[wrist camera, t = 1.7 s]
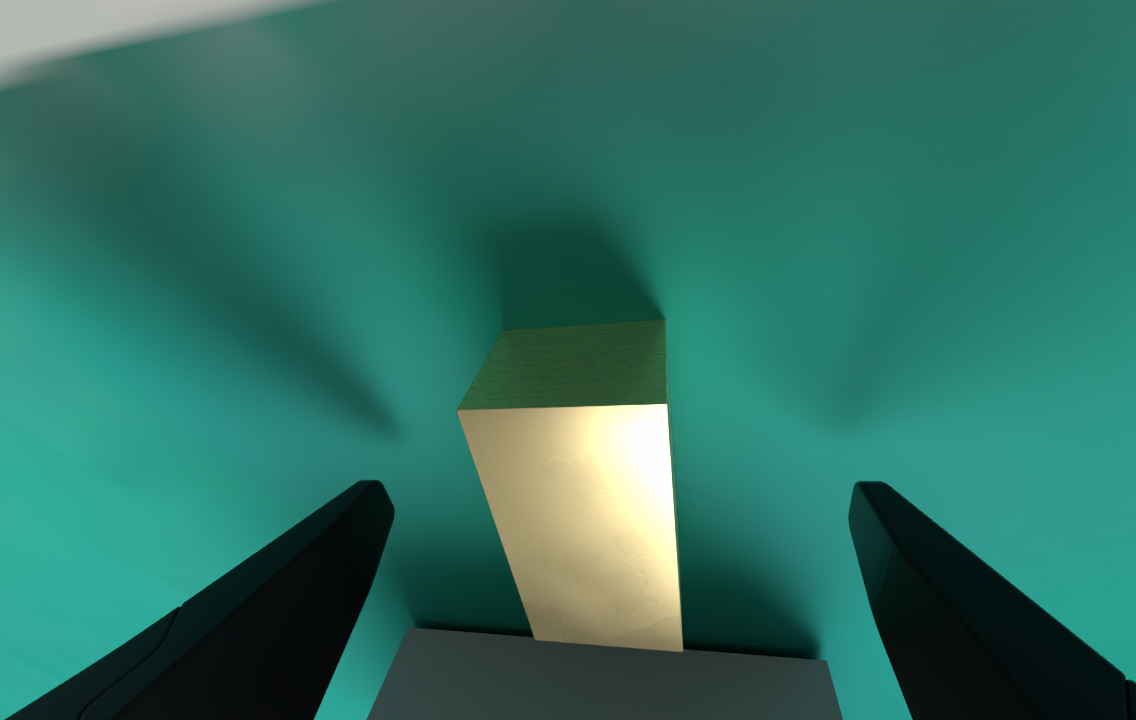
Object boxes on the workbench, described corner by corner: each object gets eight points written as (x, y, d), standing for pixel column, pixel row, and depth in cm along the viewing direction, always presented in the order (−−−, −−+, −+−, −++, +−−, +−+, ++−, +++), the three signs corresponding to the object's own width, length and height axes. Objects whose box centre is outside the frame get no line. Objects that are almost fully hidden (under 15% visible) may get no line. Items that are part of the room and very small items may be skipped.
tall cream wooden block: (665, 318, 8) (666, 403, 6) (678, 544, 11) (683, 652, 9) (503, 329, 9) (456, 410, 7) (556, 539, 12) (534, 639, 10)
